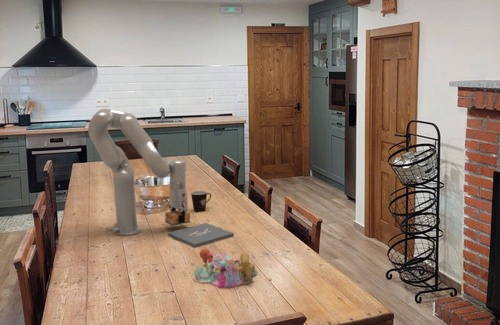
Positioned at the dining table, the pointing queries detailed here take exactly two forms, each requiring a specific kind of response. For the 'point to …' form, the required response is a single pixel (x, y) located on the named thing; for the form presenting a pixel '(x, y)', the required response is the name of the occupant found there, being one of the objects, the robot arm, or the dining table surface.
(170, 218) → the block
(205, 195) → the coffee mug
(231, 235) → the board
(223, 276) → the candy landscape model
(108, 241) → the dining table surface
